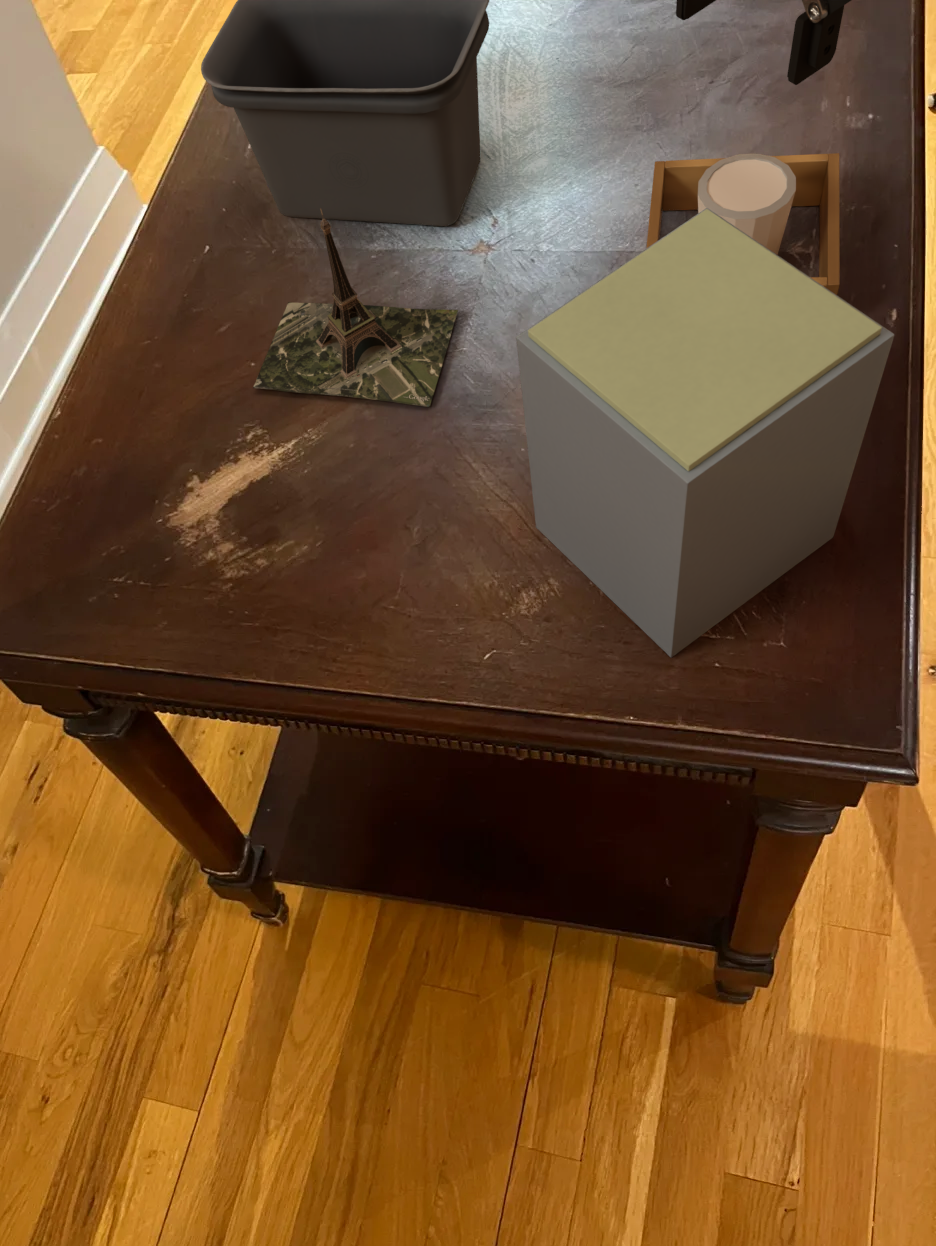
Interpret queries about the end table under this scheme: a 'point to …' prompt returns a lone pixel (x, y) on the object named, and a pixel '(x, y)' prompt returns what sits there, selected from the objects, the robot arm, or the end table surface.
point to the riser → (691, 491)
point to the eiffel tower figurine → (357, 346)
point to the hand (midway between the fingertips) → (751, 39)
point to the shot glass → (750, 195)
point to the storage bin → (356, 103)
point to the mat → (702, 337)
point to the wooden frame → (813, 188)
